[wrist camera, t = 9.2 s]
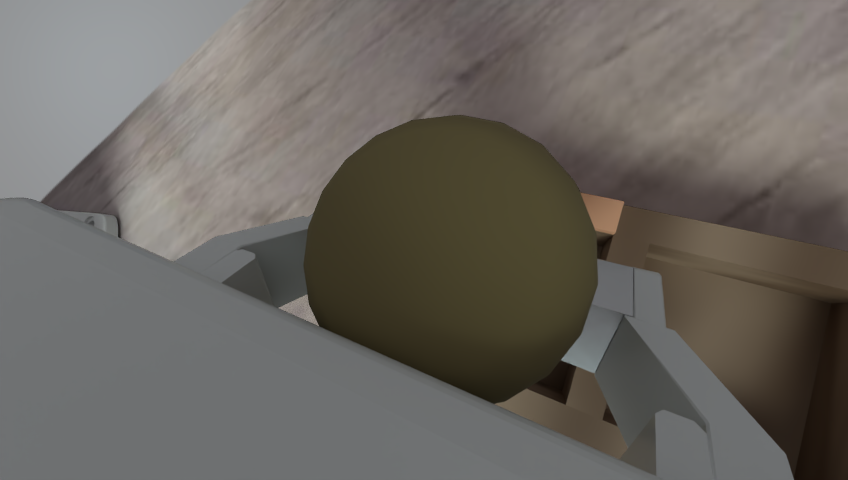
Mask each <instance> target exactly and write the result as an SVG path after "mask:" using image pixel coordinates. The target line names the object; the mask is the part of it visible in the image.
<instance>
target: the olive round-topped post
mask: <svg viewBox="0 0 848 480" xmlns="http://www.w3.org/2000/svg"><path fill="white" fill-rule="evenodd" d="M303 266H304V273H305V280H306V286H307V293H308V300H309V305H310V307H311V309H312V312H313V314H314V316H315V318H316V320H317V322H318V324H319V327H322V328H324V329H326V330H328V331H331V332H333V333H335V334H337V335H340V336H342V337H344V338H346V339H349V340H351V341H353V342H355V343H358V344H360V345H362V346H364V347H367V348H369V349H371V350H373V351H376V352H378V353H380V354H382V355H385V356H387V357H389V358H391V359H394V360H396V361H398V362H400V363H403V364H405V365H407V366H409V367H412V368H414V369H416V370H418V371H421V372H423V373H425V374H427V375H430V376H432V377H434V378H436V379H439V380H441V381H443V382H445V383H448V384H450V385H452V386H454V387H457V388H459V389H461V390H464V391H466V392H468V393H470V394H473V395H475V396H477V397H479V398H482V399H484V400H486V401H488V402H491V403H493V404H496V403H501V402H505V401H507V400H509V399H510V398H512V397H513V396H515V395H517V394H518V393H520V392H522V391H523V390H525V389H527V388H528V387H530V386H532V385H533V384H535V383H537V382H538V381H540V380H542V379H543V378H545V377H547V376H548V375H549V374H550V373H551V372H552V370H553V369H554V368H555V367H556V365H557V364H558V363H559V362H560V360H561V359H562V358H563V357H564V355H565V354H566V353H567V352H568V350H569V349H570V348H571V347H572V345H573V344H574V343H575V342H576V340H577V339H578V338H579V337H580V335H581V334H582V331H583V328H584V325H585V322H586V319H587V316H588V313H589V310H590V307H591V304H592V301H593V298H594V295H595V292H596V289H597V286H598V266H597V233H596V231H595V228H594V226H593V223H592V221H591V218H590V216H589V213H588V211H587V208H586V206H585V203H584V201H583V198H582V196H581V193H580V191H579V188H578V186H577V185H576V183H575V182H574V180H573V179H572V178H571V177H570V176H569V174H568V173H567V172H566V171H565V170H564V169H563V168H562V167H561V165H560V164H559V163H558V162H557V161H556V160H555V159H554V157H553V156H552V155H551V154H550V153H549V152H548V151H547V150H546V148H545V147H544V146H543V145H542V144H540V143H538V142H536V141H535V140H533V139H531V138H529V137H527V136H526V135H524V134H522V133H520V132H518V131H517V130H515V129H513V128H511V127H509V126H508V125H506V124H504V123H501V122H495V121H490V120H485V119H479V118H474V117H469V116H463V115H453V116H444V117H435V118H427V119H419V120H411V121H409V122H407V123H404V124H402V125H400V126H397V127H395V128H393V129H390V130H388V131H386V132H383V133H381V134H379V135H376V136H375V137H374V138H372V139H371V140H370V141H369V142H367V143H366V144H365V145H364V146H362V147H361V148H360V149H359V150H357V151H356V152H355V153H353V154H352V155H351V156H350V157H348V158H347V159H346V160H345V161H344V163H343V164H342V165H341V167H340V168H339V169H338V171H337V172H336V173H335V175H334V176H333V177H332V179H331V180H330V182H329V183H328V184H327V186H326V187H325V188H324V190H323V191H322V194H321V196H320V199H319V201H318V204H317V206H316V208H315V211H314V213H313V216H312V218H311V221H310V223H309V226H308V232H307V240H306V248H305V256H304V264H303Z"/></svg>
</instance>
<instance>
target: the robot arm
mask: <svg viewBox="0 0 848 480" xmlns="http://www.w3.org/2000/svg"><path fill="white" fill-rule="evenodd" d="M312 216H313V214H312V215H310V216H309V217H304V216H302V217H298V218H293V219H289V220H285V221H281V222H276V223H272V224H268V225H264V226H259V227H255V228H251V229H247V230H242V231H238V232H234V233H230V234H225V235H221V236H217V237H214V238H212V239H211V240H209V241H207V242H206V243H204V244H202V245H201V246H199V247H197V248H196V249H194V250H192V251H191V252H189V253H187V254H186V255H184V256H182V257H181V258H179V259H177V260H176V261H174V262H173V261H171V260H168V259H166V258H164V257H162V256H159V255H157V254H155V253H153V252H150V251H148V250H146V249H144V248H141V247H139V246H137V245H135V244H132V243H130V242H128V241H126V240H123V239H121V238H119V237H118V223H117V219H116V217H115V216H113V215H108V214H100V213H87V212H75V211H63V210H56V209H53V208H51V207H49V206H47V205H45V204H43V203H41V202H38V201H36V200H32V199H28V198H6V199H0V480H794V478H793V475H792V472H791V469H790V465H789V462H788V459H787V456H786V454H785V453H784V452H783V450H782V449H781V448H780V447H779V446H778V445H777V444H776V443H775V442H774V440H773V439H772V438H771V437H770V436H769V435H768V434H767V433H766V432H765V430H764V429H763V428H762V427H761V426H760V425H759V424H758V423H757V422H756V420H755V419H754V418H753V417H752V416H751V415H750V414H749V413H748V411H747V410H746V409H745V408H744V407H743V406H742V405H741V404H740V403H739V401H738V400H737V399H736V398H735V397H734V396H733V395H732V394H731V393H730V391H729V390H728V389H727V388H726V387H725V386H724V385H723V384H722V383H721V381H720V380H719V379H718V378H717V377H716V376H715V375H714V374H713V373H712V371H711V370H710V369H709V368H708V367H707V366H706V365H705V364H704V362H703V361H702V360H701V359H700V358H699V357H698V356H697V355H696V354H695V352H694V351H693V350H692V349H691V348H690V347H689V346H688V345H687V344H686V342H685V341H684V340H683V339H682V338H681V337H680V336H679V335H678V334H677V332H676V331H675V330H672V329H668V328H666V319H665V308H664V297H663V286H662V276H661V275H660V274H659V273H657V272H653V271H648V270H644V269H640V268H635V267H629V266H625V265H621V264H617V263H613V262H609V261H605V260H601V259H597V266H598V286H597V289H596V292H595V295H594V298H593V301H592V304H591V307H590V310H589V313H588V316H587V319H586V322H585V325H584V328H583V331H582V334H581V335H580V337H579V338H578V339H577V340H576V342H575V343H574V344H573V345H572V347H571V348H570V349H569V350H568V352H567V353H566V354H565V355H564V357H563V358H562V359H561V360H562V361H564V362H567V363H570V364H572V365H575V366H577V367H580V368H582V369H585V370H587V371H590V372H592V373H595V378H596V380H597V382H598V384H599V386H600V388H601V391H602V393H603V395H604V397H605V399H606V402H607V404H608V406H609V408H610V410H611V412H612V415H613V417H614V419H615V421H616V423H617V425H618V428H619V430H620V432H621V434H622V436H623V438H624V441H625V443H626V445H627V447H628V449H627V450H626V452H625V453H624V454H623V455H622V457H621V458H620V459H617V458H615V457H612V456H610V455H608V454H606V453H603V452H601V451H599V450H597V449H594V448H592V447H590V446H588V445H585V444H583V443H581V442H579V441H576V440H574V439H572V438H570V437H567V436H565V435H563V434H561V433H558V432H556V431H554V430H552V429H549V428H547V427H545V426H543V425H540V424H538V423H536V422H534V421H531V420H529V419H527V418H524V417H522V416H520V415H518V414H515V413H513V412H511V411H509V410H506V409H504V408H502V407H500V406H497V405H495V404H493V403H491V402H488V401H486V400H484V399H482V398H479V397H477V396H475V395H473V394H470V393H468V392H466V391H464V390H461V389H459V388H457V387H454V386H452V385H450V384H448V383H445V382H443V381H441V380H439V379H436V378H434V377H432V376H430V375H427V374H425V373H423V372H421V371H418V370H416V369H414V368H412V367H409V366H407V365H405V364H403V363H400V362H398V361H396V360H394V359H391V358H389V357H387V356H385V355H382V354H380V353H378V352H376V351H373V350H371V349H369V348H367V347H364V346H362V345H360V344H358V343H355V342H353V341H351V340H349V339H346V338H344V337H342V336H340V335H337V334H335V333H333V332H331V331H328V330H326V329H324V328H322V327H319V326H317V325H315V324H313V323H310V322H308V321H306V320H304V319H301V318H299V317H297V316H295V315H292V314H290V313H288V312H286V311H283V310H281V309H279V308H278V307H281V306H283V305H285V304H287V303H289V302H291V301H294V300H296V299H298V298H300V297H302V296H304V295H306V294H308V293H307V286H306V280H305V273H304V266H303V264H304V256H305V248H306V240H307V232H308V226H309V223H310V221H311V218H312Z"/></svg>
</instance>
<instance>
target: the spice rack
mask: <svg viewBox="0 0 848 480" xmlns="http://www.w3.org/2000/svg"><path fill="white" fill-rule="evenodd" d="M581 196H582V198H583V201H584V203H585V206H586V208H587V211H588V213H589V216H590V218H591V221H592V223H593V226H594V228H595V231H596V233H597V259H601V260H605V261H609V262H613V263H617V264H621V265H625V266H629V267H635V268H640V269H644V270H648V271H653V272H657V273H659V274H660V275H661V276H662V286H663V297H664V308H665V319H666V328H668V329H672V330H675V331H676V332H677V334H678V335H679V336H680V337H681V338H682V339H683V340H684V341H685V342H686V344H687V345H688V346H689V347H690V348H691V349H692V350H693V351H694V352H695V354H696V355H697V356H698V357H699V358H700V359H701V360H702V361H703V362H704V364H705V365H706V366H707V367H708V368H709V369H710V370H711V371H712V373H713V374H714V375H715V376H716V377H717V378H718V379H719V380H720V381H721V383H722V384H723V385H724V386H725V387H726V388H727V389H728V390H729V391H730V393H731V394H732V395H733V396H734V397H735V398H736V399H737V400H738V401H739V403H740V404H741V405H742V406H743V407H744V408H745V409H746V410H747V411H748V413H749V414H750V415H751V416H752V417H753V418H754V419H755V420H756V422H757V423H758V424H759V425H760V426H761V427H762V428H763V429H764V430H765V432H766V433H767V434H768V435H769V436H770V437H771V438H772V439H773V440H774V442H775V443H776V444H777V445H778V446H779V447H780V448H781V449H782V450H783V452H784V453H785V454H786V456H787V459H788V462H789V465H790V469H791V472H792V475H793V478H794V480H848V251H843V250H839V249H834V248H829V247H824V246H819V245H814V244H810V243H805V242H800V241H795V240H790V239H785V238H781V237H776V236H771V235H766V234H761V233H756V232H752V231H747V230H742V229H737V228H732V227H728V226H723V225H718V224H713V223H708V222H703V221H699V220H694V219H689V218H684V217H679V216H674V215H670V214H665V213H660V212H655V211H650V210H646V209H641V208H636V207H631V206H626V205H623V204H624V201H620V200H615V199H610V198H605V197H600V196H595V195H590V194H585V193H581ZM495 405H497V406H500V407H502V408H504V409H506V410H509V411H511V412H513V413H515V414H518V415H520V416H522V417H524V418H527V419H529V420H531V421H534V422H536V423H538V424H540V425H543V426H545V427H547V428H549V429H552V430H554V431H556V432H558V433H561V434H563V435H565V436H567V437H570V438H572V439H574V440H576V441H579V442H581V443H583V444H585V445H588V446H590V447H592V448H594V449H597V450H599V451H601V452H603V453H606V454H608V455H610V456H612V457H615V458H617V459H620V458H621V457H622V455H623V454H624V453H625V452H626V450H627V449H628V447H627V445H626V443H625V441H624V438H623V436H622V434H621V432H620V430H619V428H618V425H617V423H616V421H615V419H614V417H613V415H612V412H611V410H610V408H609V406H608V404H607V402H606V399H605V397H604V395H603V393H602V391H601V388H600V386H599V384H598V382H597V380H596V378H595V373H592V372H590V371H587V370H585V369H582V368H580V367H577V366H575V365H572V364H570V363H567V362H564V361H562V360H560V362H559V363H558V364H557V365H556V367H555V368H554V369H553V370H552V372H551V373H550V374H549V375H548V376H547V377H545V378H543V379H542V380H540V381H538V382H537V383H535V384H533V385H532V386H530V387H528V388H527V389H525V390H523V391H522V392H520V393H518V394H517V395H515V396H513V397H512V398H510V399H509V400H507V401H505V402H501V403H496V404H495Z"/></svg>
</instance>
